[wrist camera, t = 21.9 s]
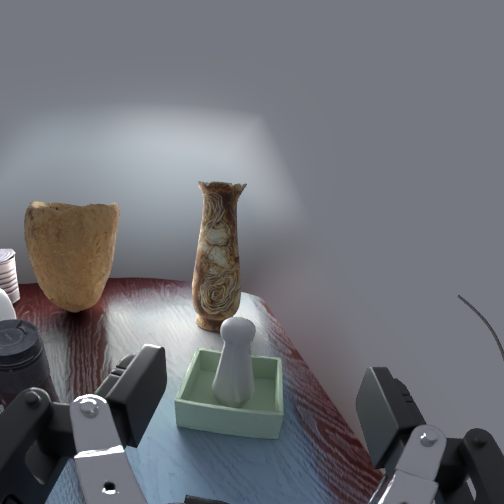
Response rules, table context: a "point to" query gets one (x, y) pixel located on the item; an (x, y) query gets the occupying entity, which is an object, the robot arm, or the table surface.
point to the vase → (217, 256)
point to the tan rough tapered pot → (71, 250)
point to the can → (8, 275)
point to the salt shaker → (235, 363)
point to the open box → (226, 418)
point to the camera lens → (22, 361)
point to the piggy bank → (6, 307)
